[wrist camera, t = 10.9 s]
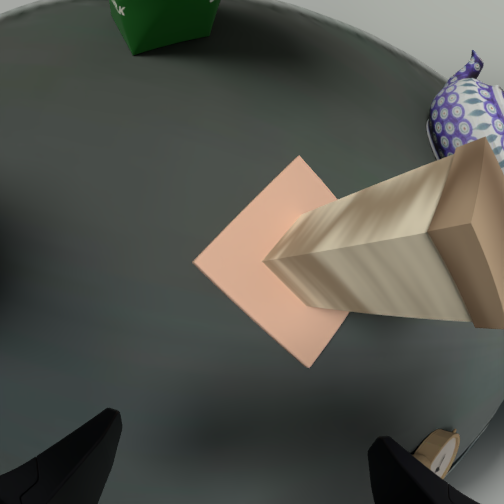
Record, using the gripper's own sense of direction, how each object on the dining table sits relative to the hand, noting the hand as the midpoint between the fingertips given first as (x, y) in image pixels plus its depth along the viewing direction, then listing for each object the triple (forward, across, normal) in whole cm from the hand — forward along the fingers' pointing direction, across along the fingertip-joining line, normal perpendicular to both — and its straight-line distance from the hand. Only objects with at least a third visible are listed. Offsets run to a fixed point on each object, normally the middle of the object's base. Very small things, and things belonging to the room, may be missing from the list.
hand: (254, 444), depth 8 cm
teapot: (+27, -24, -19) cm, 41 cm away
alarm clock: (+10, -26, +22) cm, 35 cm away
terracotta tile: (+14, -3, -3) cm, 14 cm away
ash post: (+13, -3, -3) cm, 14 cm away
